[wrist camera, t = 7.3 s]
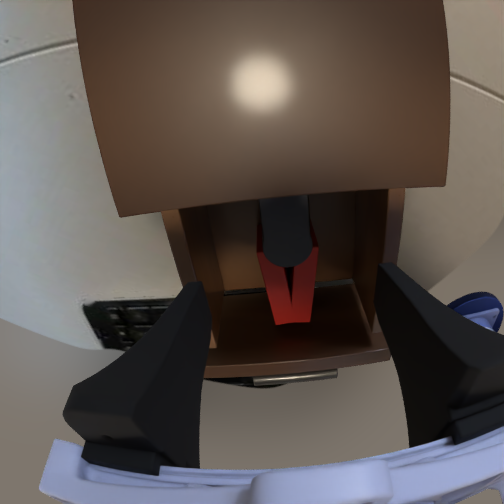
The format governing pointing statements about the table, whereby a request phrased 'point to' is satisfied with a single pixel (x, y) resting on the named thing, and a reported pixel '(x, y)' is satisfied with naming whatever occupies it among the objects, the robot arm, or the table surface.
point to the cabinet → (264, 97)
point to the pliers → (287, 257)
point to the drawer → (249, 273)
